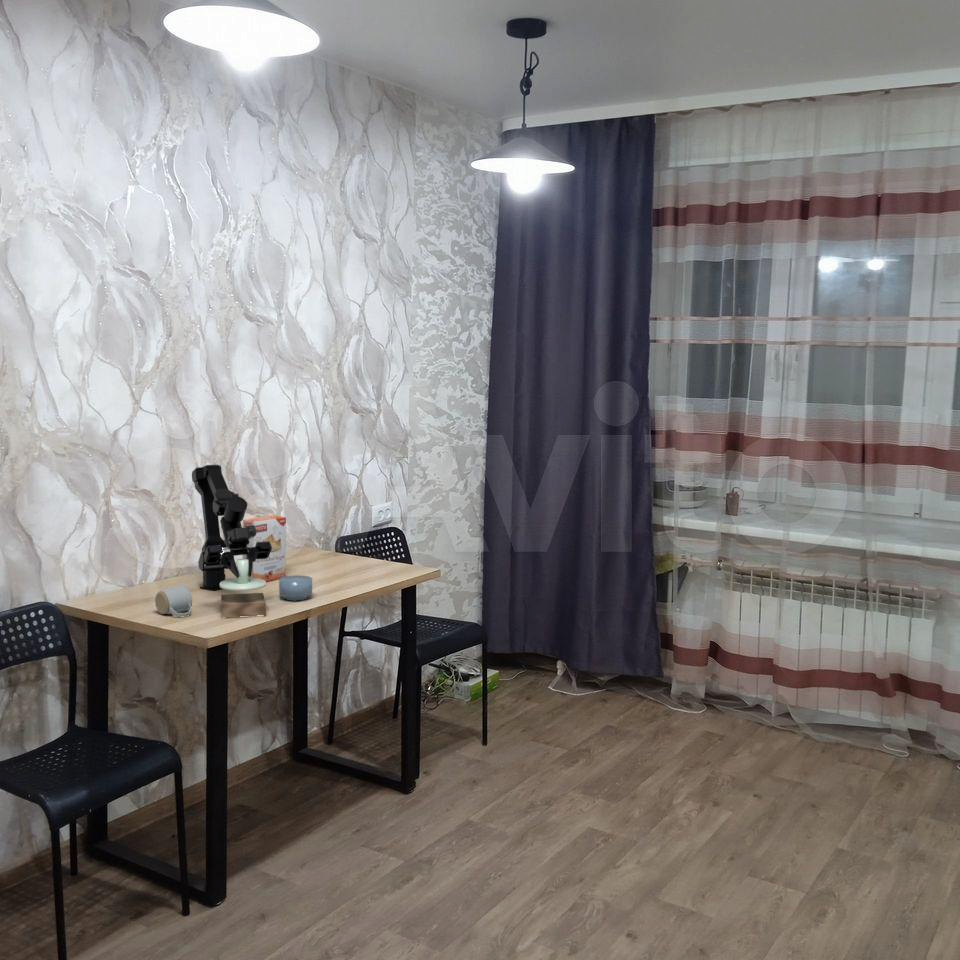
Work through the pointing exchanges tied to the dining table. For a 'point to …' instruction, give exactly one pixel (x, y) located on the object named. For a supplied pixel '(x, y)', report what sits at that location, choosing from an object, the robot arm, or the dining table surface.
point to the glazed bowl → (295, 587)
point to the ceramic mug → (174, 601)
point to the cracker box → (276, 535)
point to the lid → (242, 579)
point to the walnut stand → (243, 605)
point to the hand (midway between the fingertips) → (244, 576)
